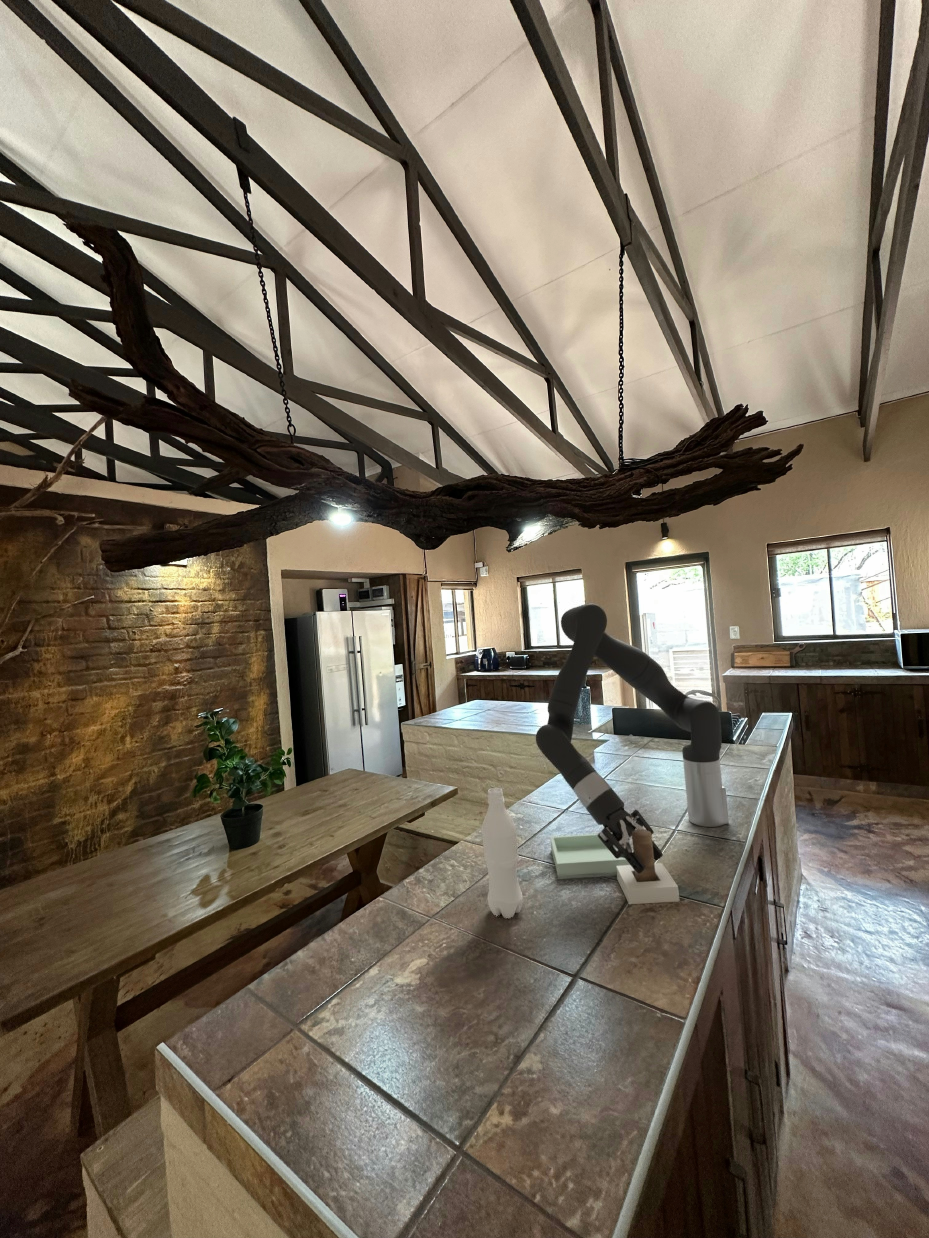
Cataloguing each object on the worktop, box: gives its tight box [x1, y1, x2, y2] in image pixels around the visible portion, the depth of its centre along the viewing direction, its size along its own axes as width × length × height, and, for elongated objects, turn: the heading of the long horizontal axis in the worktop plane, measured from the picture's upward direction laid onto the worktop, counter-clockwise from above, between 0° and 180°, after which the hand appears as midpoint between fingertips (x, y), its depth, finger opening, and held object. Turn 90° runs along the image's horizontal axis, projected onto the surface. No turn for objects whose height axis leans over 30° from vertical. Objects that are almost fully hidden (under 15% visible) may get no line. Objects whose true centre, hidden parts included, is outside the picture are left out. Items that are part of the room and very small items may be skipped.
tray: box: [549, 832, 630, 880], centre depth 123 cm, size 18×15×4 cm
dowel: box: [631, 829, 656, 882], centre depth 108 cm, size 4×4×12 cm
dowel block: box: [616, 862, 680, 905], centre depth 108 cm, size 10×10×3 cm
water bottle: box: [481, 787, 524, 919], centre depth 105 cm, size 7×7×25 cm
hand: (651, 864), depth 107 cm, fingers open, 6 cm apart
